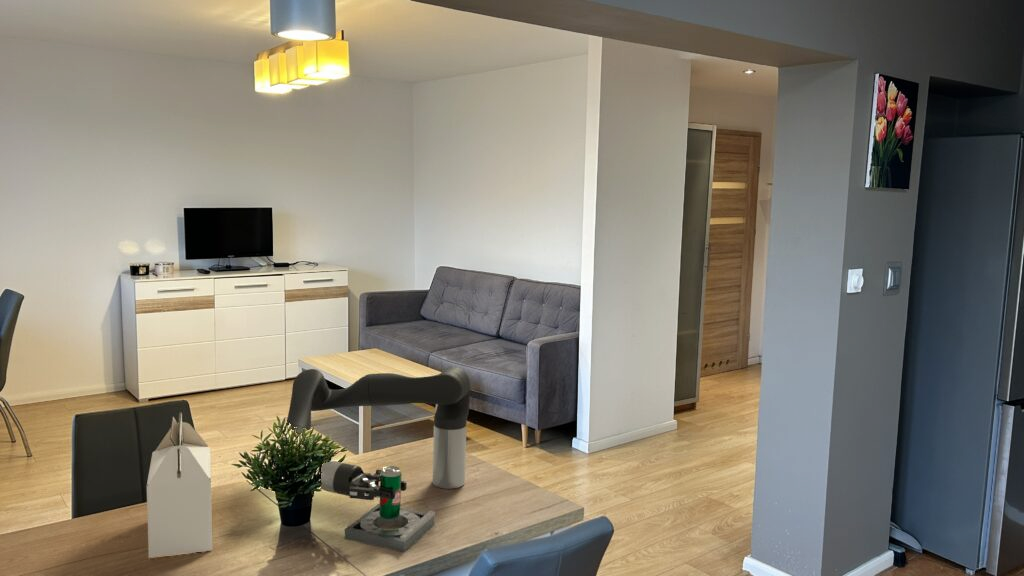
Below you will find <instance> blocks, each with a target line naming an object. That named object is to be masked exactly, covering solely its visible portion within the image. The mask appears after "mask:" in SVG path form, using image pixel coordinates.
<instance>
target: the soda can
mask: <svg viewBox="0 0 1024 576" xmlns="http://www.w3.org/2000/svg"><path fill="white" fill-rule="evenodd" d="M381 470H382V472H381V473H380V481H379V486H380V488H381V487H383V488H388V489H393V490H395V498H394V499H388V498H383V497H379V504H380V507H379V515H380V516H381V517H382V518H384V519H395V518H397V517H398V516H399V515H400V508H401V501H402V499H401V496H402V495H401V494H402V491H401V481H402V471H401V468H400V467H399V466H395V465H388V466H384V467H382V469H381Z"/></svg>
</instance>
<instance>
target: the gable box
mask: <svg viewBox="0 0 1024 576" xmlns="http://www.w3.org/2000/svg"><path fill="white" fill-rule="evenodd" d="M171 419H172V420H171V426H170V428H169V430H168V431H167V433H166V434H165V436H164V437H163V439H161V441H160V442H159V444H158V446H157V447H156V449H155V450H154V451H152V454H151V459H150V465H149V471H148V475H147V476H148V477H147V481H146V482H147V483H146V509H147V511H146V512H147V513H146V514H147V515H146V516H147V543H148V545H147V546H148V551H147V552H148V558H149V557H154V556H162V555H171V554H181V553H192V552H200V551H207V550H212V551H213V531H212V530H213V526H212V525H213V523H212V477H211V476H212V475H211V474H212V466H211V465H212V463H211V462H212V461H211V447H210V446H209V445H208V444H207V443H206V442H205V440H204V439H203V438H202V437H201V435H200V434H199V433H198V432H197V430H195V429H194V427H193V426H192V425H191V424H190V423H189V422H187V421H183V413H182V412H179V415H178V422H177V420H176V419H175V417H174V416H172V418H171Z"/></svg>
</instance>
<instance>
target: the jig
mask: <svg viewBox="0 0 1024 576" xmlns="http://www.w3.org/2000/svg"><path fill="white" fill-rule="evenodd" d="M379 507H380V503H377V504H376V505H375V506H373V507H372V508H371V509H369V510H368V511H367V512H366V513H364V514H363V515H361V516H360V517H359V518H357V519H355V521H353V522H352V523H351V524H349V525H347V526H346V527H345V528H344V540H348V541H352V542H353V541H354V542H357V543H360V544H361V543H362V544H367V545H371V546H375V547H379V548H385V549H389V550H393V551H398V552H401V553H402V552H403V553H405V552H406V551H407V550H408V549H409V548H411V547H412V546H413V545H414V544H415V543H416V541H418V540H419V539H420V538H422V536H423V535H425V534H426V533H427V532H428V531H429V530H430V529H431V528H432V527H434V525H435V511H434V510H429V511H428V512H426V513H425V512H421V511H415V510H410V509H405V508H402V507H400V515H399V516H398V517H397V518H395V519H384V518H382V517H381V516H380V515H379ZM384 525H399V526H403V527H399V528H396V529H395V528H394V529H384V528H380V526H384Z"/></svg>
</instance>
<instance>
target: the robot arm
mask: <svg viewBox="0 0 1024 576" xmlns="http://www.w3.org/2000/svg"><path fill="white" fill-rule="evenodd" d="M470 381H471V380H470V377H469V375H468V374H467V373H466V371H464V370H463V369H462V368H460V367H456V366H455V367H453V366H452V367H449V368H445V370H443V371H441V372H440V373H438V374H433V375H428V376H420V377H419V376H418V377H417V376H416V377H415V376H414V377H412V376H411V377H410V376H407V375H402V374H399V373H393V372H391V373H389V372H383V373H382V372H381V373H369V374H366V375H363V376H362V377H360V378H358V379H357V380H356V381H355V382H353V383H352V384H351V385H350V386H348V387H346V388H342V389H341V388H339V389H332V388H329V385H328V384H327V381H326V378H325V376H324V374H323V373H322V372H321V371H320V370H318V369H315V368H309V369H306V370H303V371H301V372H300V373H298V374H297V375H296V377H295V378H294V380H293V383H292V390H291V397H290V403H289V404H290V405H289V409H288V415H287V417H286V418H287V419H286V421H287V422H288V423H286V422H285V424H286V425H289V423H290V424H291V426H292V428H291V429H292V430H295V429H296V433H297V435H300V434H301V433H302V429H303V428H306V429H307V430H309V429H312V412H319V411H327V410H328V411H329V410H334V409H335V410H336V409H343V408H354V407H383V406H387V407H388V406H397V405H410V404H425V405H426V404H427V405H437V407H436V411H435V413H434V416H433V442H432V443H433V444H432V445H433V447H432V448H433V451H432V485H433V486H435V487H436V488H440V489H445V490H446V489H448V490H450V489H452V490H453V489H458V488H462V486H464V485H465V481H466V479H465V477H466V454H467V453H466V452H467V448H466V447H467V422H468V416H469V412H470V410H469V409H470V399H471V398H470V397H471V382H470ZM294 427H297V428H294ZM328 461H329V462H326V464H323V466H322V467H321V472H322V473H321V482H322V485H321V488H320V489H319V490H323V491H326V492H329V493H334V494H336V495H337V494H339V495H342V496H346V497H349V498H350V499H356V500H357V499H358V500H367V501H374V500H375V498H376V499H380V497H383V498H388V499H394V498H395V490H393V489H388V488H383V487H381V488H380V473H381V472H382V469H376V470H375V473H371V472H366V473H365V472H364V470H363V468H362V467H361V466H359V465H356V464H351V463H346V462H345V463H344V462H340V461H334V460H328ZM326 483H327V484H326ZM324 484H325V485H324ZM406 490H407V482H406V481H404V480H401V492H402V491H403V492H405V491H406Z"/></svg>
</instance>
